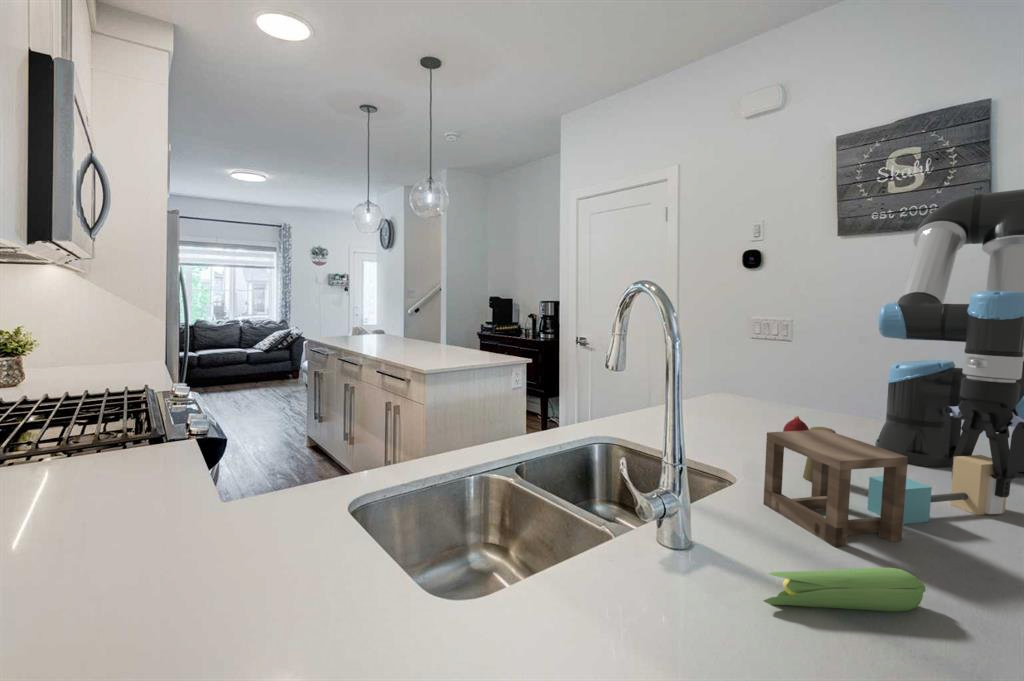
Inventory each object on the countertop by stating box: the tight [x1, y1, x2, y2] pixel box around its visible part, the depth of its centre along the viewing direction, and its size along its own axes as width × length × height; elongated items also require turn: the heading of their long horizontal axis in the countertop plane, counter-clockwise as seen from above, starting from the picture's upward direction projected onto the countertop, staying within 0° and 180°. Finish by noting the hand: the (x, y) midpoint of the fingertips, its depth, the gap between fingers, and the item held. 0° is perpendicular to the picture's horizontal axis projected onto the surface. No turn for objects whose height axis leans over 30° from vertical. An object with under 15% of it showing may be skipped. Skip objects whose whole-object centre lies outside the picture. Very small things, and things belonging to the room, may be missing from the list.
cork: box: [802, 426, 836, 483], centre depth 102 cm, size 6×6×11 cm
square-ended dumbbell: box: [866, 454, 1007, 525], centre depth 87 cm, size 23×6×9 cm, turn 100°
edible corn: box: [763, 567, 926, 612], centre depth 61 cm, size 5×20×5 cm
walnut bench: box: [763, 430, 909, 548], centre depth 83 cm, size 12×16×13 cm
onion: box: [782, 415, 810, 432], centre depth 125 cm, size 6×6×8 cm
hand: (976, 506), depth 88 cm, fingers closed on square-ended dumbbell, 4 cm apart
